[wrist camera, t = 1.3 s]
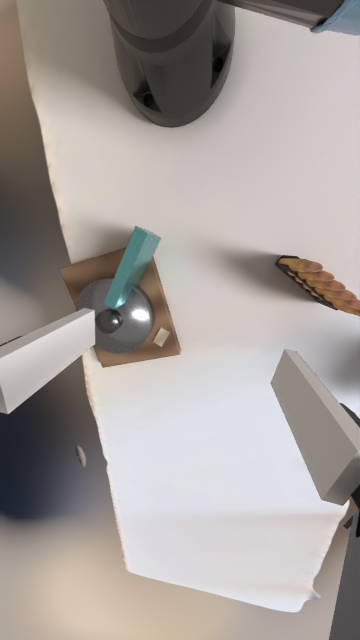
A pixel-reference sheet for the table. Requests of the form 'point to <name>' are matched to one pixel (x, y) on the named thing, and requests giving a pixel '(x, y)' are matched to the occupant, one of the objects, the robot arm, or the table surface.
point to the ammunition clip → (319, 284)
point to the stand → (163, 331)
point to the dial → (123, 299)
